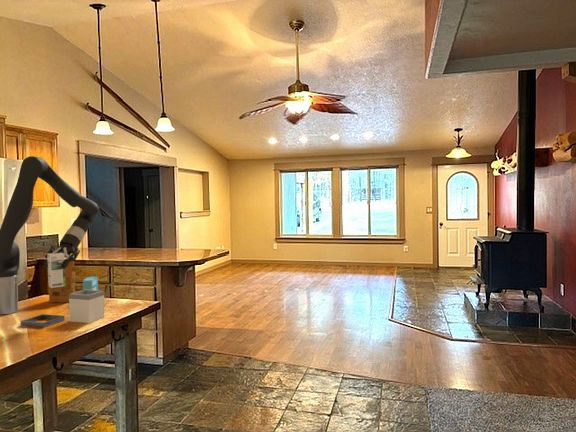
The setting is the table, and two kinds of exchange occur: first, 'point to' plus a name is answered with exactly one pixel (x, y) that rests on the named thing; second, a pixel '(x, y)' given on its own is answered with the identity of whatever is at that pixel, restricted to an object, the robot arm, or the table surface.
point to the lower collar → (52, 320)
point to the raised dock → (86, 306)
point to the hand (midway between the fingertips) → (54, 267)
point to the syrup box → (56, 270)
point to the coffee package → (63, 292)
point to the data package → (90, 283)
